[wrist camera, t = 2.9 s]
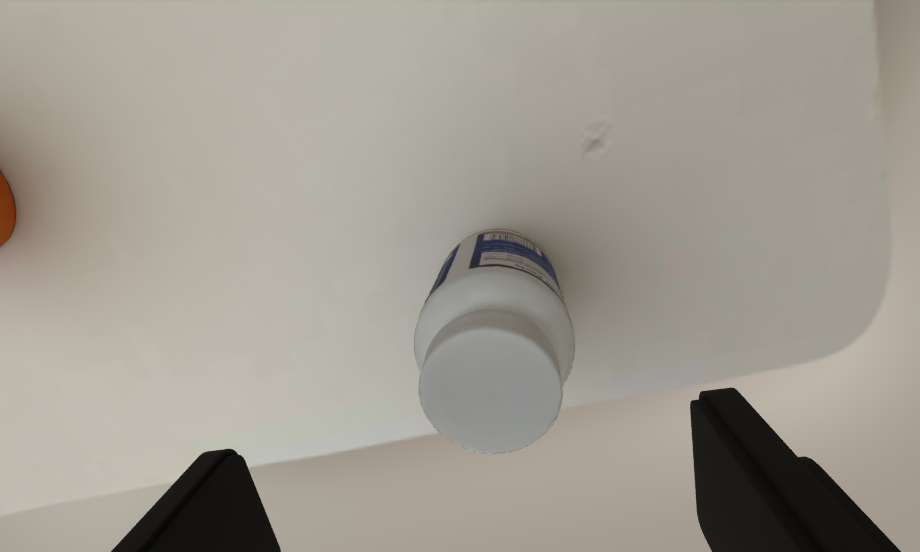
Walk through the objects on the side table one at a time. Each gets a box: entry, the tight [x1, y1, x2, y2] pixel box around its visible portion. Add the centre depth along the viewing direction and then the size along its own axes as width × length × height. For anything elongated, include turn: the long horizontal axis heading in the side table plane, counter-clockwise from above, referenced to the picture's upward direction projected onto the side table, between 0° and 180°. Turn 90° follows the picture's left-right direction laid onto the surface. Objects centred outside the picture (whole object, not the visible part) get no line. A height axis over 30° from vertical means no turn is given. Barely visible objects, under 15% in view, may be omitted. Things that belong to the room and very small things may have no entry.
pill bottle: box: [414, 229, 575, 454], centre depth 17 cm, size 5×5×10 cm
